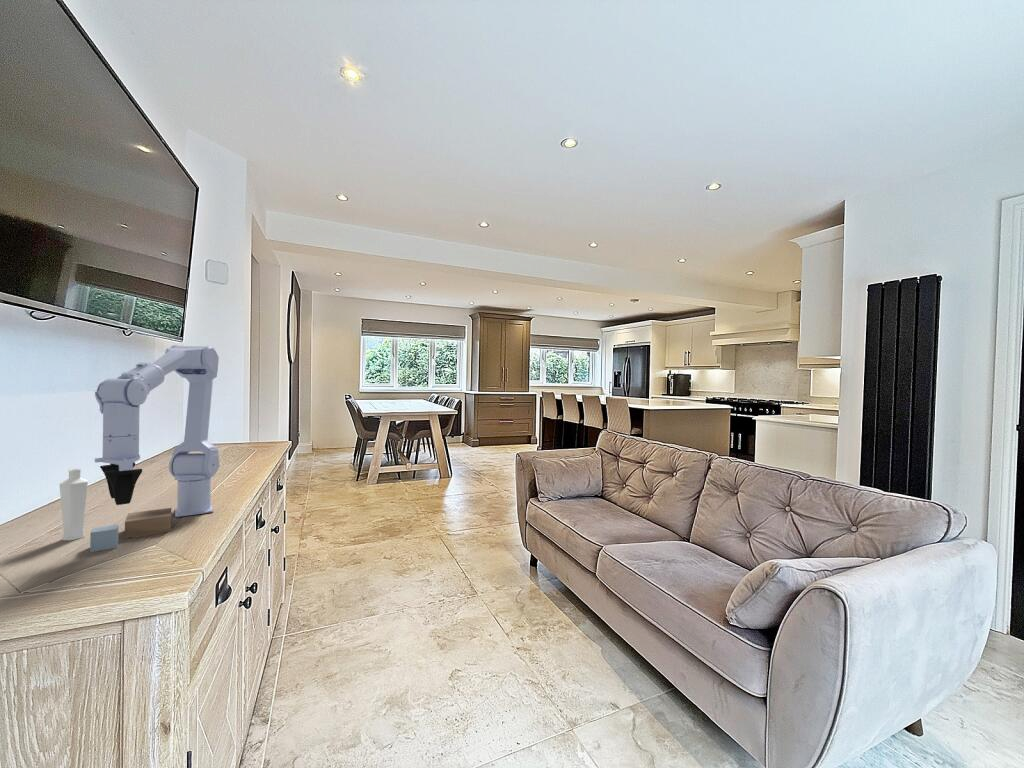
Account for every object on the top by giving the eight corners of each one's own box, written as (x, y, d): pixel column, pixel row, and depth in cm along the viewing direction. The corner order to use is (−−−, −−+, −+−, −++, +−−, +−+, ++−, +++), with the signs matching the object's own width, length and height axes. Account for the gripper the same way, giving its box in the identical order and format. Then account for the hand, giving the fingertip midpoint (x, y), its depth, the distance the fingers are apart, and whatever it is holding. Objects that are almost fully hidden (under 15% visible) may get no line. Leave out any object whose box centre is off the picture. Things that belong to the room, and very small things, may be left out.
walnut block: (128, 530, 104) (128, 513, 104) (171, 524, 108) (171, 507, 108) (124, 540, 97) (124, 521, 97) (170, 533, 102) (170, 515, 102)
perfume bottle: (82, 532, 101) (83, 466, 101) (91, 536, 99) (92, 468, 99) (55, 539, 96) (56, 470, 96) (64, 542, 94) (65, 472, 95)
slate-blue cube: (92, 546, 93) (92, 527, 93) (118, 542, 95) (118, 524, 95) (90, 552, 89) (90, 532, 89) (116, 548, 92) (116, 529, 92)
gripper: (91, 434, 95) (90, 497, 95) (99, 440, 85) (98, 511, 85) (134, 431, 100) (133, 492, 100) (146, 437, 90) (145, 504, 90)
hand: (120, 500), depth 93 cm, fingers open, 7 cm apart
